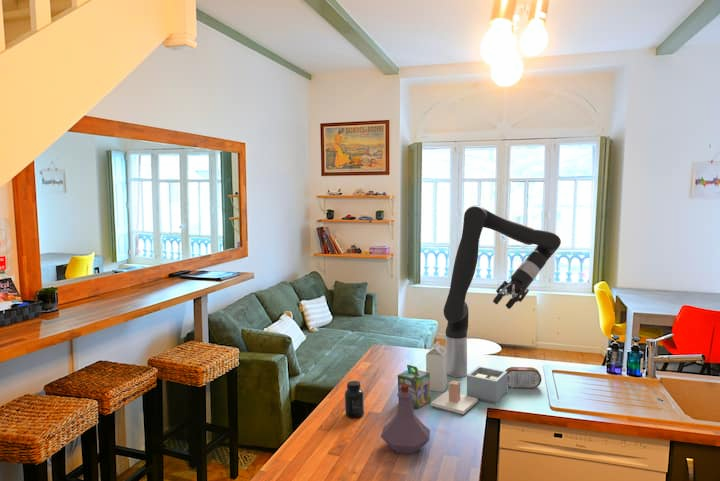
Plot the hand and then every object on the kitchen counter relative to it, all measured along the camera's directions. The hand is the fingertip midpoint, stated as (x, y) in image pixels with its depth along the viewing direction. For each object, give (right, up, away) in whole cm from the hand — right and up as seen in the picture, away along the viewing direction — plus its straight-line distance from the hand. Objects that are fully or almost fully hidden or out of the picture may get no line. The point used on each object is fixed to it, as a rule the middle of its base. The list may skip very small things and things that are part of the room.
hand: (500, 305), depth 191 cm
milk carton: (-24, -35, +8) cm, 44 cm away
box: (-6, -36, 0) cm, 36 cm away
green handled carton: (-35, -37, -5) cm, 51 cm away
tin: (+11, -35, +6) cm, 37 cm away
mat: (-20, -37, -8) cm, 43 cm away
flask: (-41, -40, -37) cm, 69 cm away
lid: (-20, -36, -8) cm, 42 cm away
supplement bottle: (-58, -38, -14) cm, 71 cm away
